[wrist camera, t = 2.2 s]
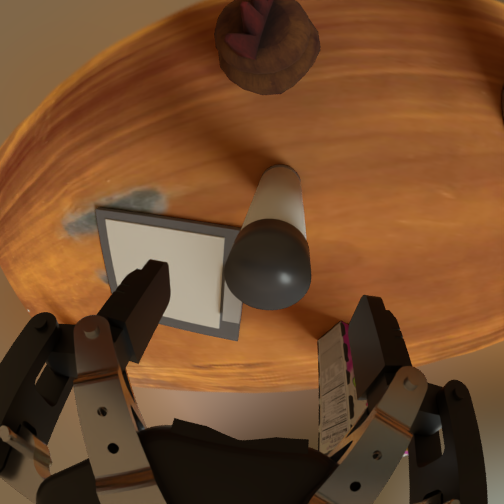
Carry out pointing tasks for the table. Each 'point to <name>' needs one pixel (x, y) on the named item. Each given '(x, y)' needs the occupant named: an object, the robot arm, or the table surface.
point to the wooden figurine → (266, 44)
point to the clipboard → (176, 266)
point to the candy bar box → (337, 389)
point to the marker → (271, 245)
